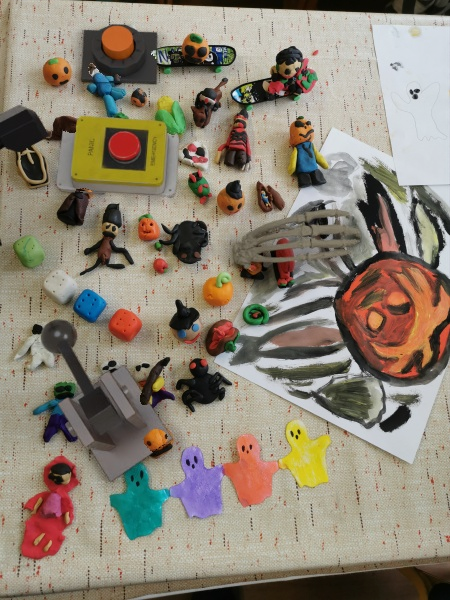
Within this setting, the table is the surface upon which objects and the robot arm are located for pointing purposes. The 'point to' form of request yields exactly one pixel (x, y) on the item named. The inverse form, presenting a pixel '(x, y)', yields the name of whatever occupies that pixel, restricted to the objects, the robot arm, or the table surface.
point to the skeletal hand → (250, 251)
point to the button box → (131, 69)
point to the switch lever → (80, 375)
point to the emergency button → (119, 157)
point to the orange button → (117, 42)
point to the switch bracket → (122, 437)
